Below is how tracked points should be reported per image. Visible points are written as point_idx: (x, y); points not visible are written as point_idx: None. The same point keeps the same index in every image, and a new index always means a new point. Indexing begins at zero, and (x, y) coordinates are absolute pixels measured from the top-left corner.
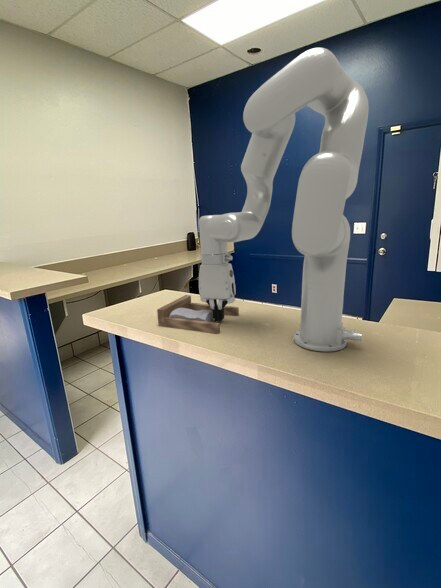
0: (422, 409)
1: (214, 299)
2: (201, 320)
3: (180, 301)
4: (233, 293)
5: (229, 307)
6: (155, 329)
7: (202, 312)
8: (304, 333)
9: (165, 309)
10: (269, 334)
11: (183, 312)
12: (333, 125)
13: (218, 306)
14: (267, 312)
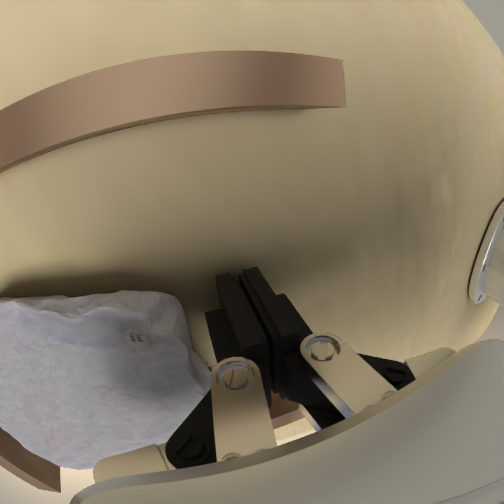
0: (483, 331)
1: (250, 446)
2: None
3: None
4: (499, 347)
5: (259, 95)
6: None
7: (158, 413)
8: (493, 296)
9: (48, 484)
10: (442, 278)
11: (88, 456)
12: None
13: (308, 412)
14: (416, 17)
